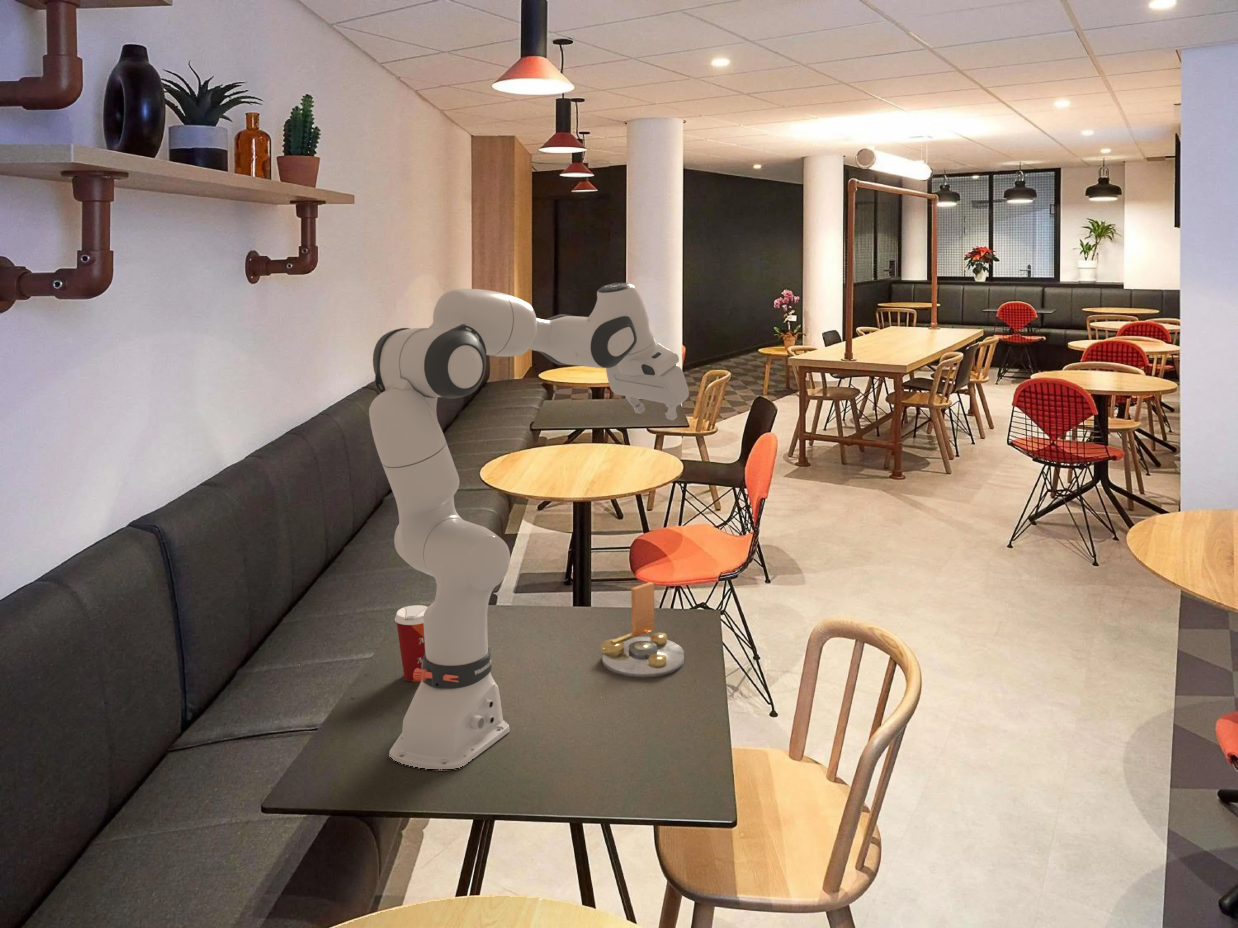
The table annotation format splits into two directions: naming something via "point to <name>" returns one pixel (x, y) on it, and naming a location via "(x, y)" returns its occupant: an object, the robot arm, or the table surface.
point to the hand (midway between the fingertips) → (656, 415)
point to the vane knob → (635, 619)
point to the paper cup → (411, 638)
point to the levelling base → (646, 657)
